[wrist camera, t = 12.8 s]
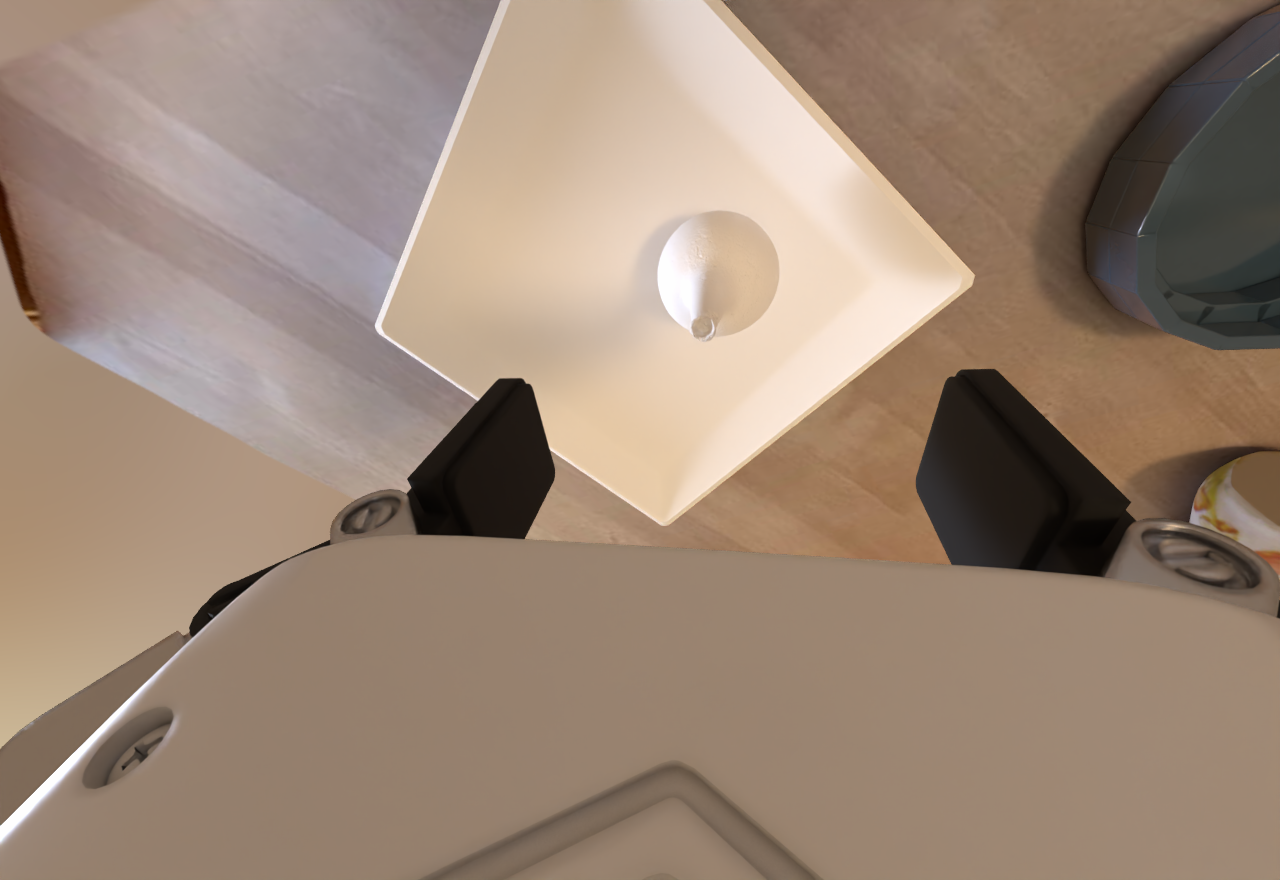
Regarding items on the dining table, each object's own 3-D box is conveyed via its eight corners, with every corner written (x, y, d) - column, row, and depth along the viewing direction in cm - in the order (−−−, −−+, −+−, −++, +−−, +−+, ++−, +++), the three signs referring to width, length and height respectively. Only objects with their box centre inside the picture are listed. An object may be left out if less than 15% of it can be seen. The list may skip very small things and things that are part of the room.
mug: (1114, 560, 34) (1216, 621, 25) (1152, 434, 33) (1276, 451, 24) (1253, 588, 32) (1423, 669, 23) (1302, 453, 30) (1507, 481, 21)
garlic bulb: (801, 246, 24) (828, 291, 17) (733, 343, 27) (734, 410, 21) (698, 181, 23) (686, 203, 16) (642, 290, 26) (613, 343, 20)
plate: (389, 320, 33) (370, 331, 31) (578, -145, 19) (564, -172, 17) (667, 512, 39) (664, 530, 37) (964, 270, 25) (981, 281, 23)
